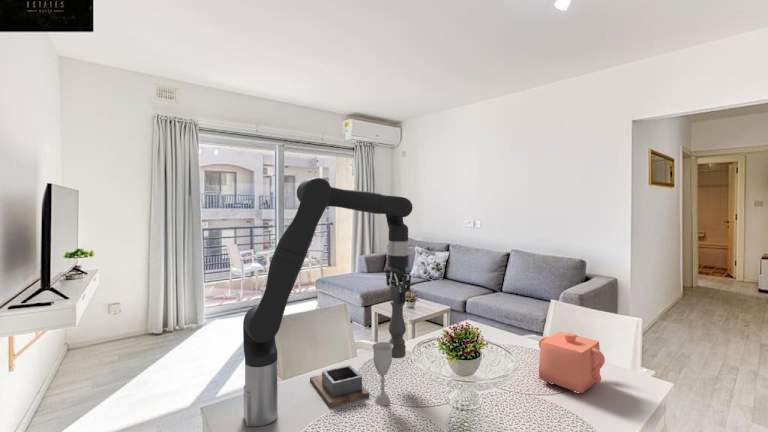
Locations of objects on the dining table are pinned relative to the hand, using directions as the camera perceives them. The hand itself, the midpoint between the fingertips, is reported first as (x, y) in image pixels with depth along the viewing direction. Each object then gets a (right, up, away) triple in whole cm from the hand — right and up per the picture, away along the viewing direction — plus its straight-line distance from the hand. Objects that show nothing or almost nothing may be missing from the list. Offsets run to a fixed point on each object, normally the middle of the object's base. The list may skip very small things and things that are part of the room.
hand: (397, 300), depth 135 cm
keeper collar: (-19, -29, -6) cm, 35 cm away
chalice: (-5, -30, -11) cm, 33 cm away
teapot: (+65, -31, +5) cm, 72 cm away
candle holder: (0, -20, +1) cm, 20 cm away
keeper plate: (-21, -30, -4) cm, 37 cm away
